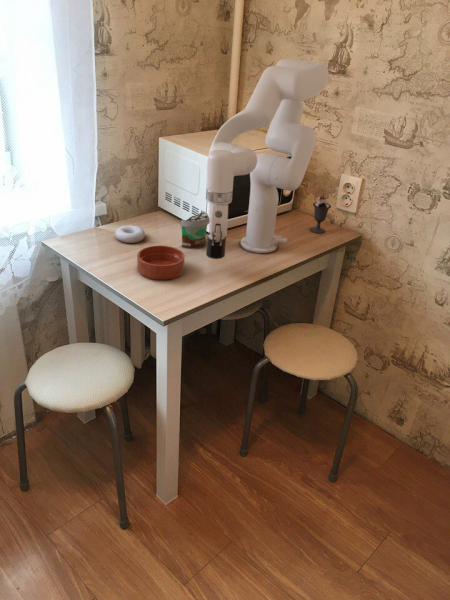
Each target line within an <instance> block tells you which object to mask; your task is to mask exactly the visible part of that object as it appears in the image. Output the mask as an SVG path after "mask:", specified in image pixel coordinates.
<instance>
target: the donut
mask: <svg viewBox="0 0 450 600" xmlns="http://www.w3.org/2000/svg"><path fill="white" fill-rule="evenodd" d="M114 236H115V238H116V240H118V241H119V242H122V243H125V244H126V243H127V244H135V243H139V242H141V241H143V239H144V238H145V237H146V231H145V230H144V229H143V228H142V227H141V226H138V225H132V224H127V225H122V226H120V227H119V226H118V228H116V230H115V232H114Z"/></svg>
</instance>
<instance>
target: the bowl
mask: <svg viewBox="0 0 450 600" xmlns="http://www.w3.org/2000/svg"><path fill="white" fill-rule="evenodd" d="M136 264H137V265H136V266H137V268H136V269H137V272H139V274H140V275H142V276H144V277H146V278H148V279H152V280H157V281H167V280H173V279H175V278H178V277H179V276H181V275H182V274H183V273H184V271H185V253H184V252H183V251H182V250H181V249H179V248H177V247H174V246H170V245H161V244H160V245H150V246H146V247H143V248H141V249H139V251H138V252H137V255H136Z"/></svg>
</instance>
